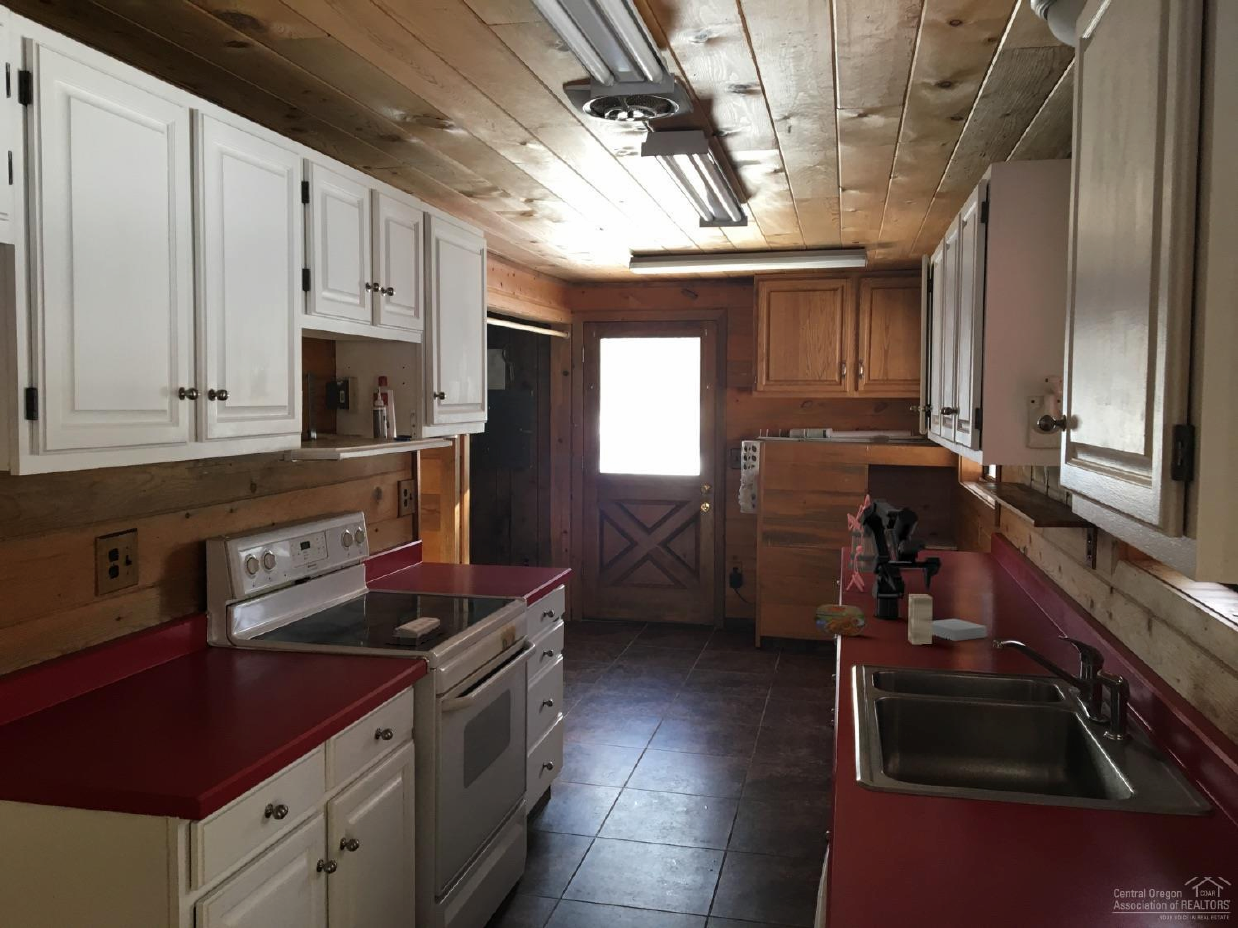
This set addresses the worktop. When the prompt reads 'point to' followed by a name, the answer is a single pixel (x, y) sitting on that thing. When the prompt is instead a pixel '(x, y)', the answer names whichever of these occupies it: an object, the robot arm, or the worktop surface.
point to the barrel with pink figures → (860, 548)
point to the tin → (840, 620)
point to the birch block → (920, 619)
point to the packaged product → (417, 627)
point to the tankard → (867, 556)
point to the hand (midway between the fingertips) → (912, 589)
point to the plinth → (957, 629)
